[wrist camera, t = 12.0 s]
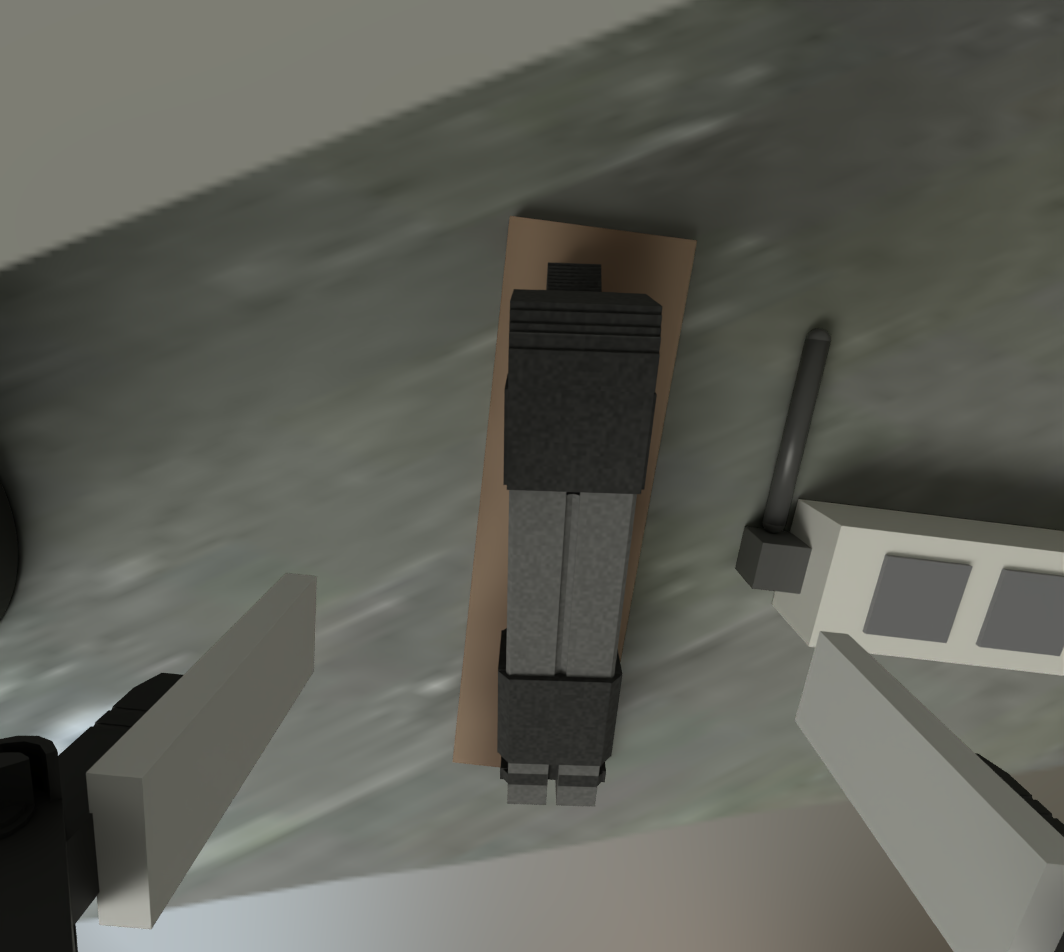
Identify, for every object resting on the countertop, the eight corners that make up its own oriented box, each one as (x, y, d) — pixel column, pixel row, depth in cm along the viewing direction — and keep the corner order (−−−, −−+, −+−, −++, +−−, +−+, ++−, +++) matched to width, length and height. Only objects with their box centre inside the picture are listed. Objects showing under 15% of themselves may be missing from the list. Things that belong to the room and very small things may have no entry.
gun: (635, 249, 20) (699, 351, 12) (588, 622, 31) (605, 809, 23) (512, 245, 20) (491, 344, 12) (508, 620, 31) (496, 806, 23)
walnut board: (455, 750, 27) (452, 762, 26) (510, 220, 21) (509, 215, 21) (597, 765, 27) (599, 778, 27) (691, 244, 22) (697, 240, 21)
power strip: (728, 599, 25) (764, 649, 21) (790, 325, 22) (846, 323, 18) (1115, 644, 26) (1221, 701, 22) (1225, 381, 23) (1372, 391, 19)
